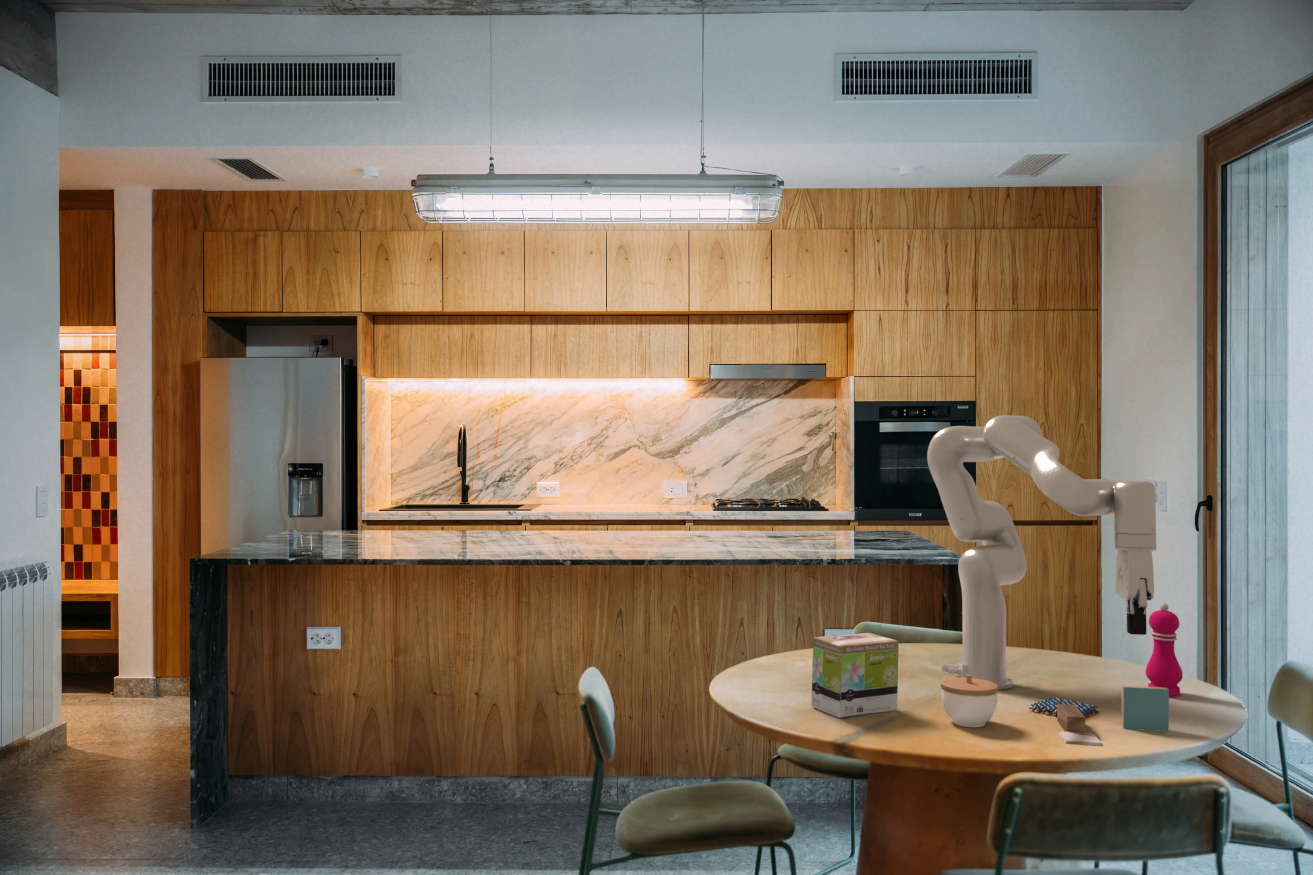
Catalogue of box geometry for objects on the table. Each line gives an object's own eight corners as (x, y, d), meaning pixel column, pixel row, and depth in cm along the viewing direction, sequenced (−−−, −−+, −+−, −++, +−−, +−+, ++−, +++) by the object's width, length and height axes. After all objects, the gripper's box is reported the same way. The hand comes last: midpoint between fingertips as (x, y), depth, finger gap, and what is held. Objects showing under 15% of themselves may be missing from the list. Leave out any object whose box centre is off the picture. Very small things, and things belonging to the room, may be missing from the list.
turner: (1065, 743, 174) (1065, 724, 174) (1049, 721, 189) (1049, 703, 189) (1101, 745, 173) (1101, 726, 173) (1082, 722, 188) (1082, 705, 188)
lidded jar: (999, 733, 180) (999, 683, 180) (940, 728, 183) (941, 679, 183) (995, 717, 191) (995, 671, 191) (939, 713, 193) (940, 667, 194)
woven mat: (1049, 704, 203) (1049, 695, 203) (1100, 715, 195) (1100, 705, 195) (1026, 713, 196) (1026, 703, 196) (1078, 724, 188) (1078, 714, 188)
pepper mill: (1187, 698, 206) (1187, 606, 207) (1151, 696, 208) (1151, 605, 208) (1176, 690, 213) (1176, 601, 214) (1141, 688, 215) (1141, 600, 215)
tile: (1123, 728, 184) (1123, 687, 184) (1121, 726, 185) (1121, 685, 186) (1168, 731, 182) (1168, 689, 182) (1166, 728, 184) (1166, 687, 184)
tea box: (841, 719, 188) (841, 645, 189) (810, 707, 197) (810, 636, 198) (899, 710, 195) (899, 638, 196) (867, 699, 204) (867, 630, 204)
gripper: (1105, 538, 199) (1107, 626, 199) (1125, 545, 185) (1126, 639, 184) (1144, 539, 198) (1146, 628, 197) (1167, 545, 183) (1169, 641, 183)
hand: (1136, 633), depth 191 cm, fingers closed
